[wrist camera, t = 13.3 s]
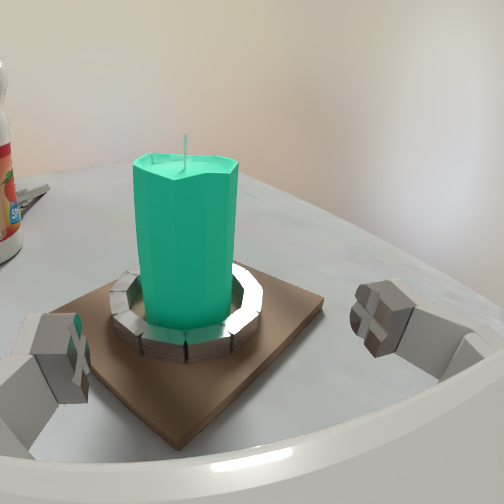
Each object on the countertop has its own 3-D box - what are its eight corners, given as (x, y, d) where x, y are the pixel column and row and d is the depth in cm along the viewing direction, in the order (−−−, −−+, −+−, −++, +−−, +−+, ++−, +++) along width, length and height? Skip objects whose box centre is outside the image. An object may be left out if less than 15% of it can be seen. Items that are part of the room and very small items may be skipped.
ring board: (178, 450, 14) (176, 441, 13) (50, 324, 20) (46, 314, 20) (321, 308, 26) (324, 297, 25) (193, 252, 32) (193, 243, 32)
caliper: (17, 233, 34) (8, 187, 31) (10, 234, 34) (1, 188, 31) (50, 189, 51) (47, 156, 48) (45, 190, 50) (42, 157, 48)
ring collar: (188, 391, 16) (186, 372, 15) (87, 309, 21) (83, 291, 20) (287, 305, 24) (289, 287, 23) (186, 259, 29) (185, 243, 28)
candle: (127, 317, 21) (109, 137, 16) (180, 280, 26) (179, 126, 20) (197, 354, 19) (195, 145, 13) (245, 306, 23) (259, 134, 18)
